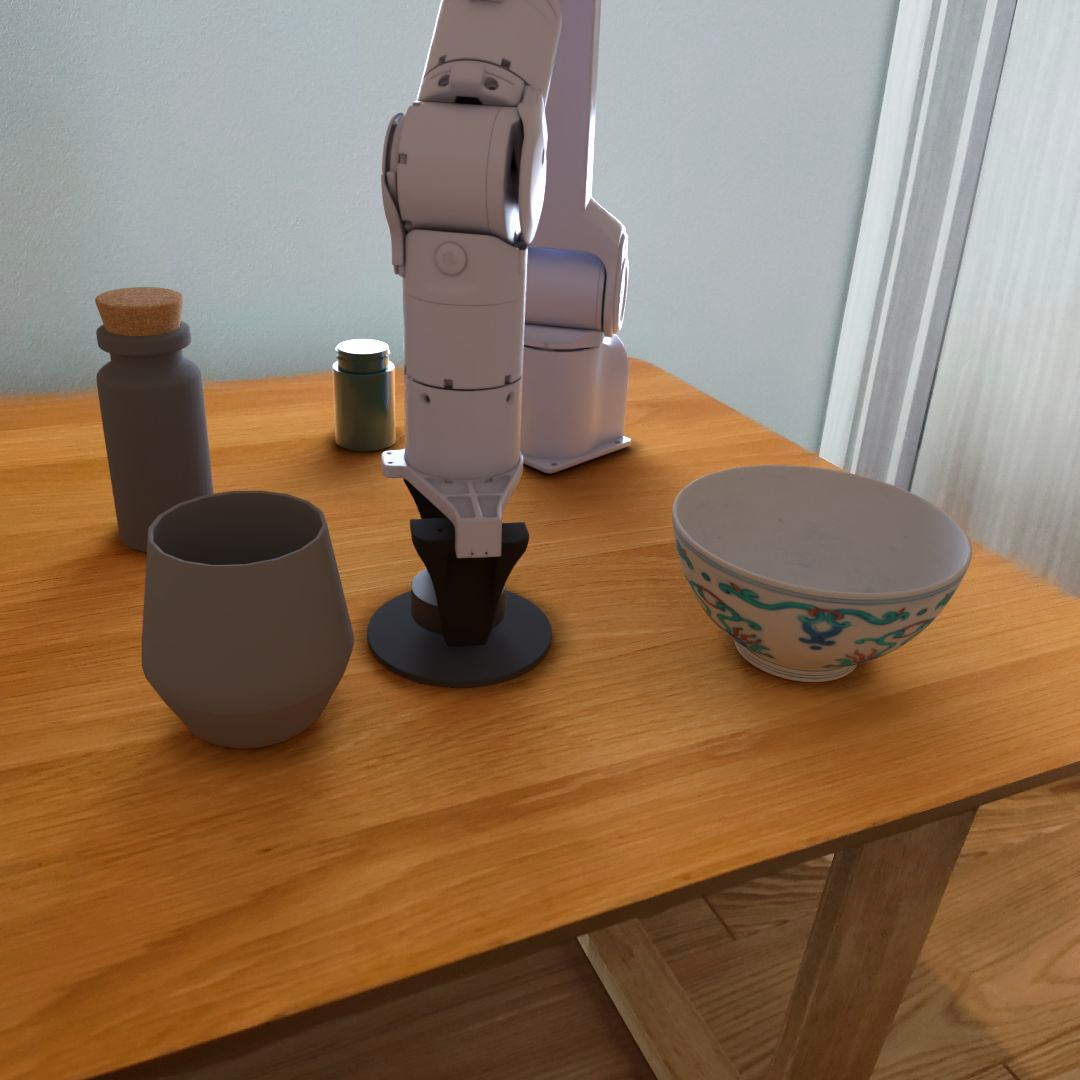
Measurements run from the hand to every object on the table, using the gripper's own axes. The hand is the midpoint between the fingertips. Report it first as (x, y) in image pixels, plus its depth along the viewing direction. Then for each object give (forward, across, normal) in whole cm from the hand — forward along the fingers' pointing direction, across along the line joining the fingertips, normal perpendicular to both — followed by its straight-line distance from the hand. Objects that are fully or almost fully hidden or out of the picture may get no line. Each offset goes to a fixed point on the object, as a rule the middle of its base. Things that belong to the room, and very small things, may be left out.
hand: (460, 614), depth 57 cm
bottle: (+2, -14, -17) cm, 22 cm away
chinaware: (+2, +3, +18) cm, 18 cm away
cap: (-2, 0, 0) cm, 2 cm away
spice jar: (+1, -29, -4) cm, 29 cm away
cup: (+2, +6, -10) cm, 12 cm away
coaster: (+1, 0, 0) cm, 1 cm away
